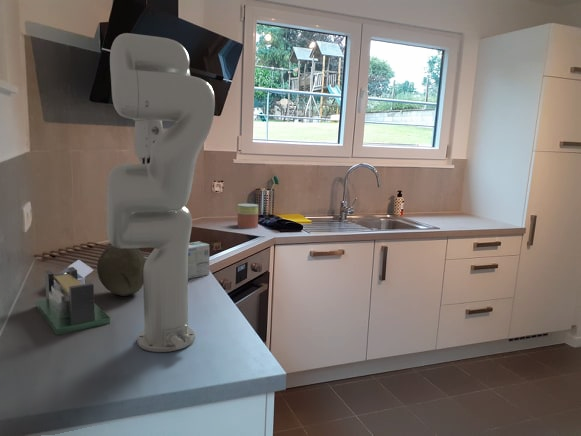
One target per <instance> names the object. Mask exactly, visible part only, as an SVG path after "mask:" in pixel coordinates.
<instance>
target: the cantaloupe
mask: <svg viewBox="0 0 581 436" xmlns="http://www.w3.org/2000/svg"><path fill="white" fill-rule="evenodd" d="M146 260H147V258H145V256H144V254H143V252H142V251H141V249H140V248H128V249H121V248H116V247H114V246H113V245H112V244H111V245H110V246H108V247H106V248H105V249H104V251H102V252H101V255H100V256H99V258H98V260H97V264H96V266H97V267H96V271H97V277H98V280H99V281H100V283H101V285H103V286H104V288H105V289H106V290H107V291H108V292H110V293H112V294H114V295H118V296H120V297H127V296H132V295H134V294H137V292H139V291H140V290H141V289H142V288H143V287H144V281H143V280H144V278H143V269H144V264H145V262H146Z"/></svg>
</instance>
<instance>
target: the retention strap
mask: <svg viewBox="0 0 581 436" xmlns="http://www.w3.org/2000/svg"><path fill="white" fill-rule="evenodd" d="M53 275H54V280H55V281H56V282H57V283H58V285H59V286H60V287H61V288H62V289H63V290H64V291H65V292H66V293H67V294H68V295H69V296H70V294H69V287H70V286H77V285H82V284H81V283H80V282H79V281H78V280H76V279H75V278H74V277H73V276H72V275H71V274H70V272H65V273H60V272H57V273H53Z"/></svg>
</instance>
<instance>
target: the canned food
mask: <svg viewBox="0 0 581 436" xmlns="http://www.w3.org/2000/svg"><path fill="white" fill-rule="evenodd" d="M236 225H237V226H236V227H237V228H239V229H246V230H247V229H248V230H249V229H250V230H251V229H257V228H259V204H256V203H238V204H237V224H236Z"/></svg>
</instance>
